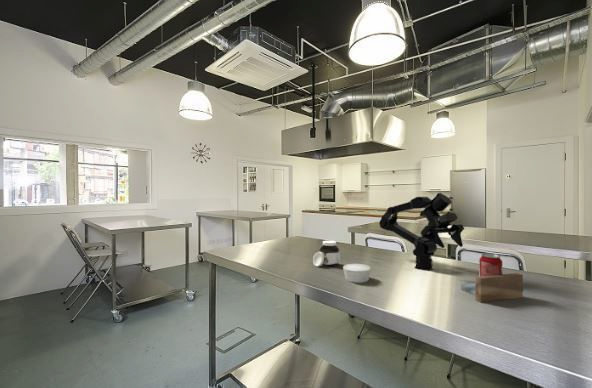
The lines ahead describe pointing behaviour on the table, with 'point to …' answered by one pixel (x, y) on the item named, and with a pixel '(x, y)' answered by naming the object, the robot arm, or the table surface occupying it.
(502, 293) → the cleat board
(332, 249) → the spread jar
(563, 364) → the table surface
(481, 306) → the table surface
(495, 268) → the soda can
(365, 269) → the ramekin
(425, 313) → the table surface
